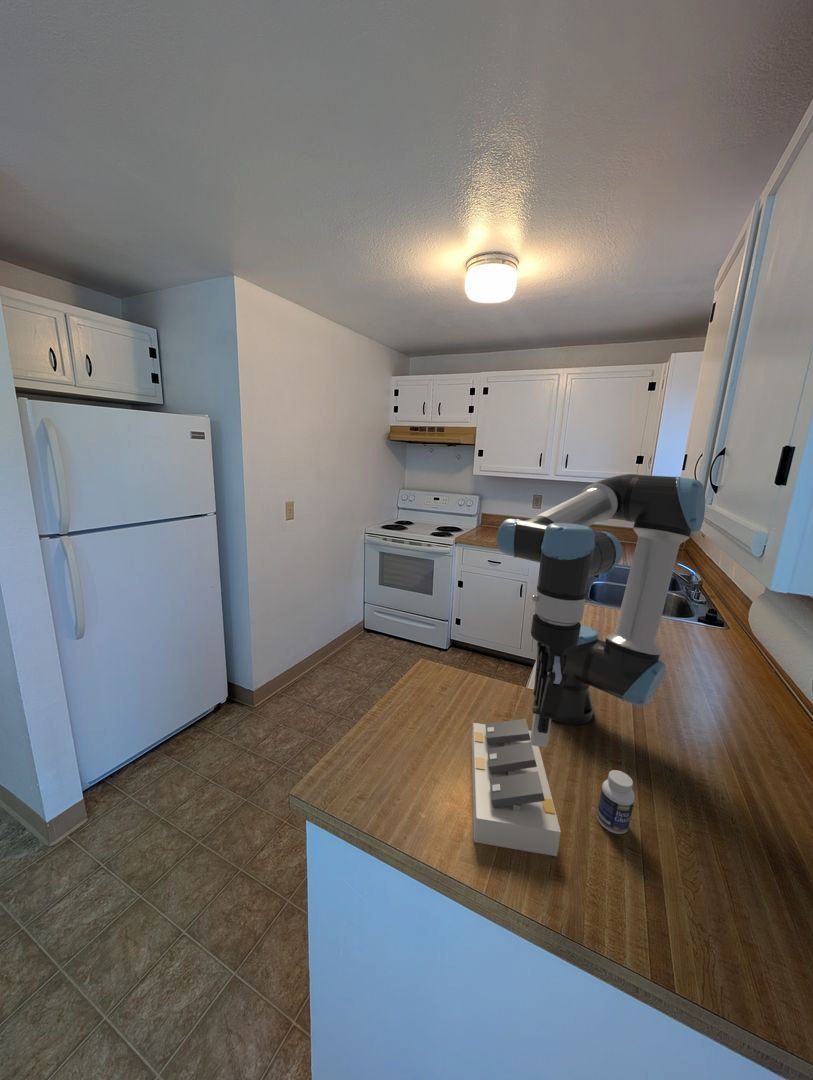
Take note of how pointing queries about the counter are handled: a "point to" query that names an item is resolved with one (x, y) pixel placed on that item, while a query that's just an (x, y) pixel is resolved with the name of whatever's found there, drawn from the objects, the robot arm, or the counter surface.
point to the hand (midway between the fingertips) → (538, 743)
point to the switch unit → (515, 823)
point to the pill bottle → (616, 802)
